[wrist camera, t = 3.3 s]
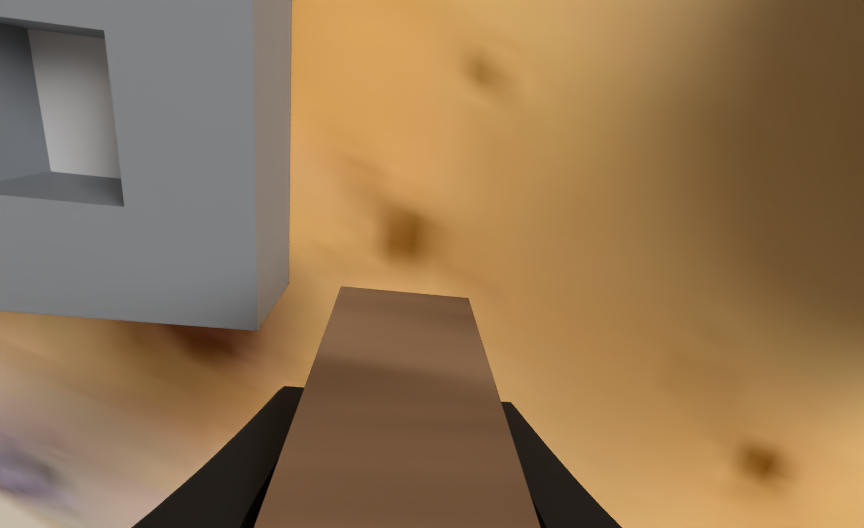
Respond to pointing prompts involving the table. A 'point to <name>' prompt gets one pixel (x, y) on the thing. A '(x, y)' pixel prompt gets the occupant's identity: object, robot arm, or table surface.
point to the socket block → (145, 159)
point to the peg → (399, 425)
